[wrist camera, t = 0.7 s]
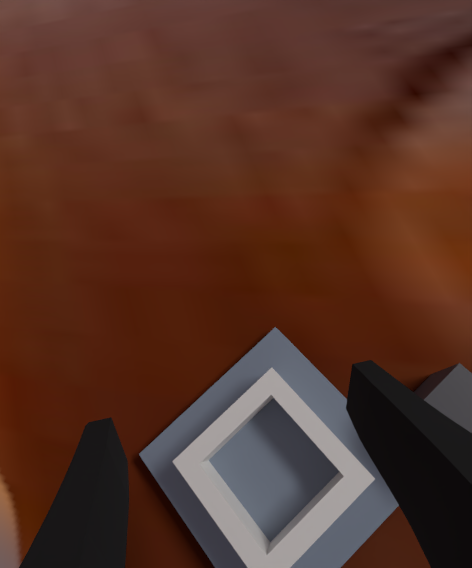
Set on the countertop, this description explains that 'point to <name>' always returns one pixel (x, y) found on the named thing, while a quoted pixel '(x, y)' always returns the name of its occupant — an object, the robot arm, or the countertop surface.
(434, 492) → the robot arm
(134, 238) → the countertop surface
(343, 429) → the socket plate
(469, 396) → the plug
